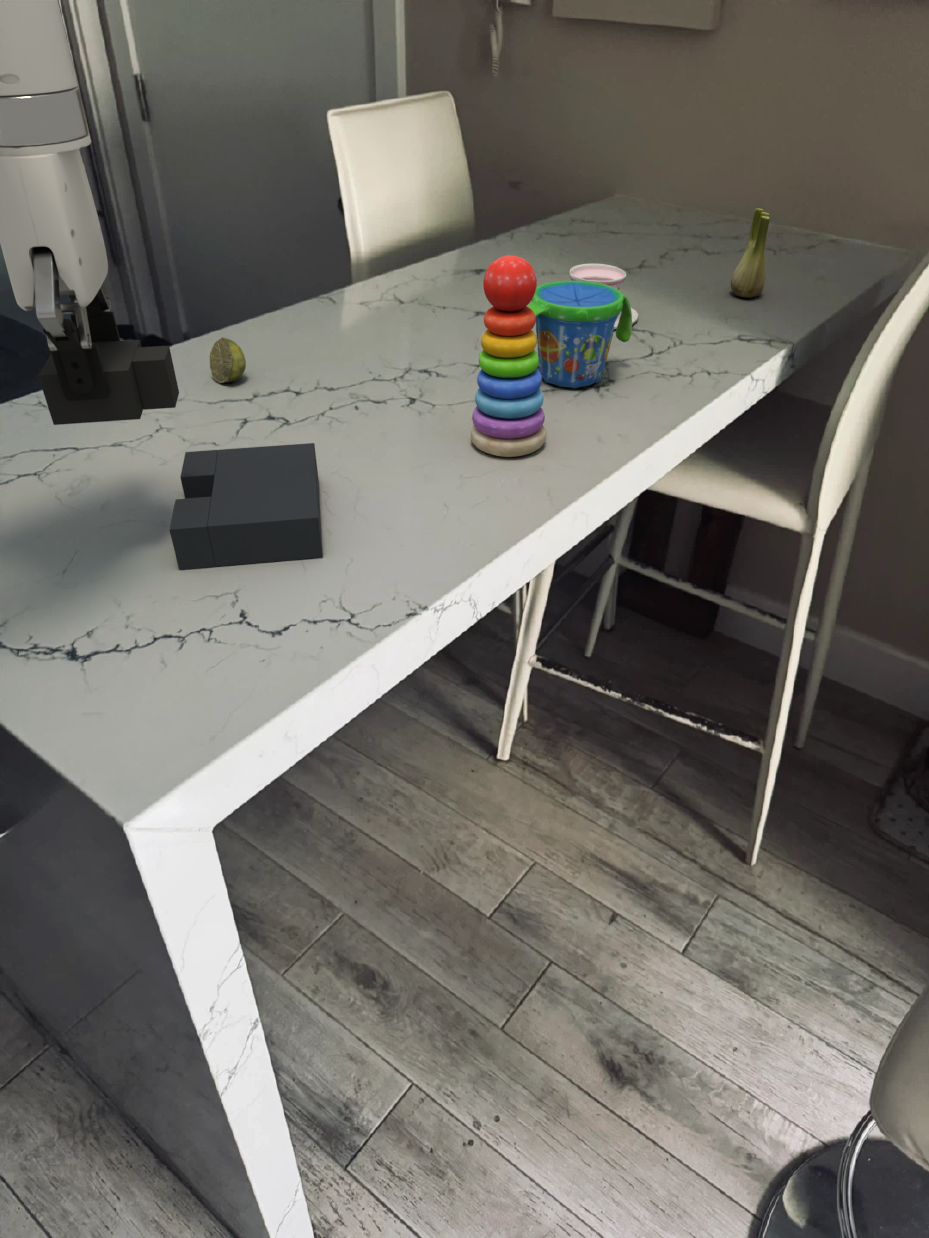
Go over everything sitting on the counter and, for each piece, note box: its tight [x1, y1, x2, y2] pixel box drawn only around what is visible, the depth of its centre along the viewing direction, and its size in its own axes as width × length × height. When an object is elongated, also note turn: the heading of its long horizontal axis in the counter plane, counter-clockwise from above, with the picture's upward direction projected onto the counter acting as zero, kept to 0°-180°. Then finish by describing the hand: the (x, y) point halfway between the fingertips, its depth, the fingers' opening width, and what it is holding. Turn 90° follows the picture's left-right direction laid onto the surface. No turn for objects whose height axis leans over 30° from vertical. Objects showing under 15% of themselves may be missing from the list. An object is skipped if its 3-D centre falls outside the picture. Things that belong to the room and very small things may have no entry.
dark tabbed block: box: [38, 339, 180, 426], centre depth 69 cm, size 9×6×4 cm
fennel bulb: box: [730, 207, 771, 298], centre depth 128 cm, size 6×5×12 cm
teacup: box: [568, 263, 639, 330], centre depth 122 cm, size 12×12×6 cm
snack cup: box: [527, 280, 633, 389], centre depth 103 cm, size 16×10×10 cm
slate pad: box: [169, 442, 324, 571], centre depth 78 cm, size 12×14×4 cm
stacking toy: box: [470, 254, 547, 458], centre depth 86 cm, size 8×8×19 cm
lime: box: [209, 337, 247, 384], centre depth 104 cm, size 4×5×5 cm
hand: (96, 377), depth 69 cm, fingers closed on dark tabbed block, 6 cm apart
